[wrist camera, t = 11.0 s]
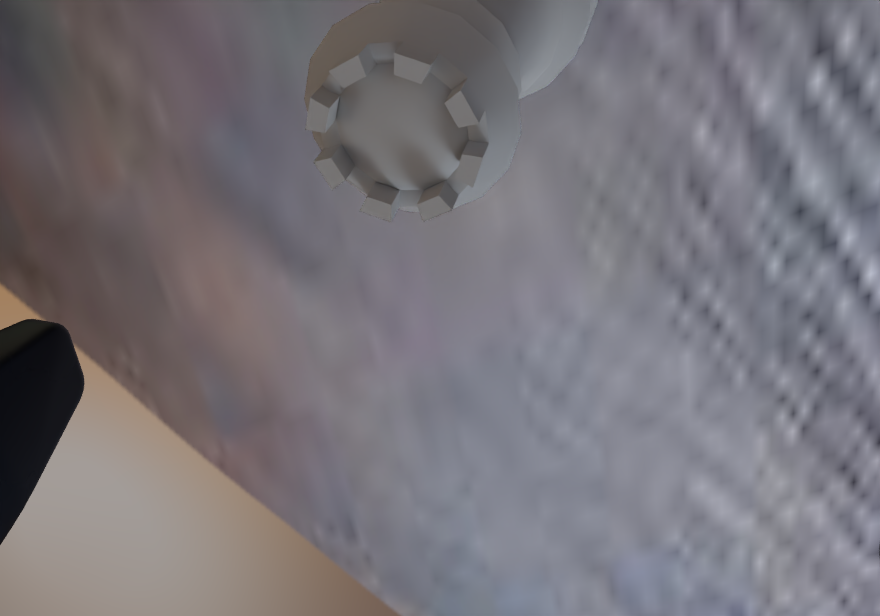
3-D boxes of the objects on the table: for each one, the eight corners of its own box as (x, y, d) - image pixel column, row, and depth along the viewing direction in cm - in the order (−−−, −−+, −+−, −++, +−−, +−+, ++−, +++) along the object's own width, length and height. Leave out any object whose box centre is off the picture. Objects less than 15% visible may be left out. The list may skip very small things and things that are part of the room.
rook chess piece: (621, 57, 18) (591, 253, 11) (433, 103, 19) (317, 297, 13) (572, -168, 15) (500, -78, 9) (363, -93, 17) (182, 27, 11)
